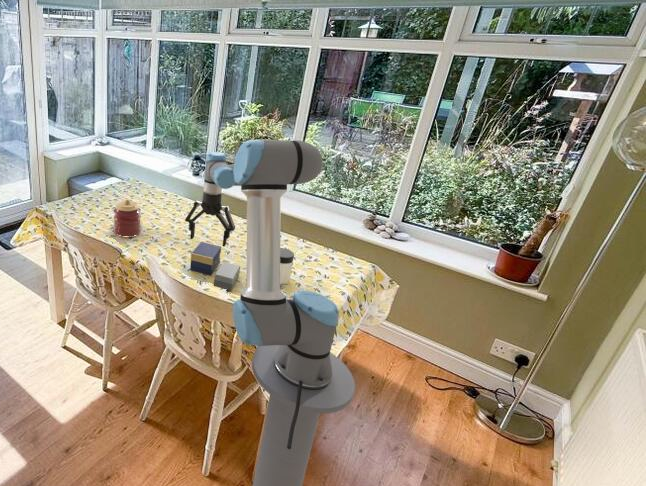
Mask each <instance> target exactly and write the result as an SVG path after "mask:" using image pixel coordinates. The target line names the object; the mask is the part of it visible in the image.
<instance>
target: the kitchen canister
mask: <svg viewBox="0 0 646 486" xmlns="http://www.w3.org/2000/svg"><path fill="white" fill-rule="evenodd" d="M141 211H142V210H141V208H140V205H139V204H138V203H137V202H136V201H134V200H130V199H129V198H125V200H121V201H119V202H118V203H116V204H115V208H114V209H113V213H114V215H113V232H114V234H115V233H116V234H118V235H121V236H134V235H137V234H138V233H140V234H141V229H142V228H141V219H142V218H141ZM116 234H115V235H116ZM137 236H138V235H137Z"/></svg>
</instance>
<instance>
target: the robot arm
mask: <svg viewBox="0 0 646 486" xmlns="http://www.w3.org/2000/svg"><path fill="white" fill-rule="evenodd" d="M227 161H228V160H227V155H226V153H224V152H219V151H217V152H216V151H211V152H208V153H207V154H206V158H205V165H204V166H205V168H204V178H203V188H202V189H203V190H202V191H203V192H202V201H199V199H196V200H195V201H194V202H193V207H191V209H190V211H189V212H188V214H187V216H186V217H185V219H184V221H185V222H187V223H188V231H189V232H190V236H189V239H190V240H193V239H194V238H195V231H196V222H195V221H196V220H197V219H199V218H200V217H201V216H202V215H203V214H205V215H207V216H209V215H210V216H213V217H214V216H215V217H216V218H217V220H218V221H219V222H220V224H221V225H222V227H223V228H224V231H223V237H222V247H225V246H226V245H227V240H228V239H229V238H230V236H231V232H235V229H236V225H235V221H234V220H233V217H232V214H231V212H230V205H226V206H225V205H222V204H223V203H222V202H223V192H224V190H227V189H231V188H232V187H240V192H241V193H242V194H243V195H244V196H245V197H246V268H245V269H246V270H245V271H246V277H245V278H246V280H245V281H246V283H245V284H246V285H245V287H244V288H243V289H242V290H241V291H240V297H239V298H240V299H237V300H234V302H233V304H232V319H233V324H234V328H235V330H236V334H237V335H238V338H239V339H240V341H241V342H242V343H243V344H245V345H246V346H251V347H252V346H254V347H258V346H270V345H281V346H280V348H279V349H278V351H277V352H276V354H275V358H274V366H275V369H276V371H277V372H278V374H279V375H280V376H281V377H282V378H283V379H284V380H286V381H287V382H289V383H290V384H292V385H294V386H297V387H298V393H297V401H296V408H295V412H294V416H293V420H292V423H291V427H290V432H289V438H288V444H287V448H288V449H291V445H292V439H293V433H294V428H295V424H296V420H297V417H298V413H299V407H300V399H301V391H302V388H303V389H308V390H319V389H323V388H325V387H327V386H328V385H329V384H330V382H331V378H332V366H331V360H330V352H331V349H332V347H333V346H332V345H333V342H334V338H335V334H336V330H337V326H338V325H339V317H340V311H339V308H338V306H337V304H335V302H333V301H332V300H331V299H330V298H328V297H327V296H325V295H323V294H321V293H319V292H316V291H312V290H307V289H300V290H297V291H296V292H294V294H293V295H292V299H287V294H286V293H285V292H284V291H283V290H282V289H281V284H280V248H281V228H282V227H281V223H282V222H281V220H282V219H281V215H282V213H281V212H282V211H281V207H282V206H281V205H282V197H283V196H284V195H285V194H286V193H287V192H288V185H301V184H306V183H310V182H312V181H313V180H315V179H316V178H317V177H318V176H319V175H320V174H321V172H322V170H323V165H324V161H323V156H322V154H321V152H320V151H319V149H318V148H317V147H316V146H315V145H313V144H311V143H309V142H307V141H304V140H298V139H297V140H295V139H293V140H287V139H284V140H283V139H263V138H262V139H249V140H246V141H244V142H243V143H242V144H241V145H240V147H239V148H238V150H237V152H236V154H235V158H234V163H233V164H227ZM199 207H201V209H202V210H201V211H199V212H198V213H197V214H196V215H194V213H195V211H196V210H197V209H198V208H199ZM222 212H223V213H224V215H225V217H224V216H223V213H222ZM193 215H194V217H193V218H192V216H193Z"/></svg>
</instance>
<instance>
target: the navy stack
mask: <svg viewBox="0 0 646 486" xmlns="http://www.w3.org/2000/svg"><path fill="white" fill-rule="evenodd" d="M220 263H221V254H220V255H219V256H218V257H217V259H216V260H215V262H214V263H213V265H209V264H205V263H201V262H197V261H193V260H191V259H190V268H189V271H192V272H196V273H199V274H202V275H207V276H210V277H212V276H213V274H214V272H215V271H216V269H217V268H218V266H219V265H220Z"/></svg>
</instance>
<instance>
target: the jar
mask: <svg viewBox="0 0 646 486" xmlns="http://www.w3.org/2000/svg"><path fill="white" fill-rule="evenodd" d="M294 257H295V254H294V251H292V250H291V249H289V248H284V247H280V285H286V284H287V285H288V284H290V281H291V277H292V270H293V264H294Z"/></svg>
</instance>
